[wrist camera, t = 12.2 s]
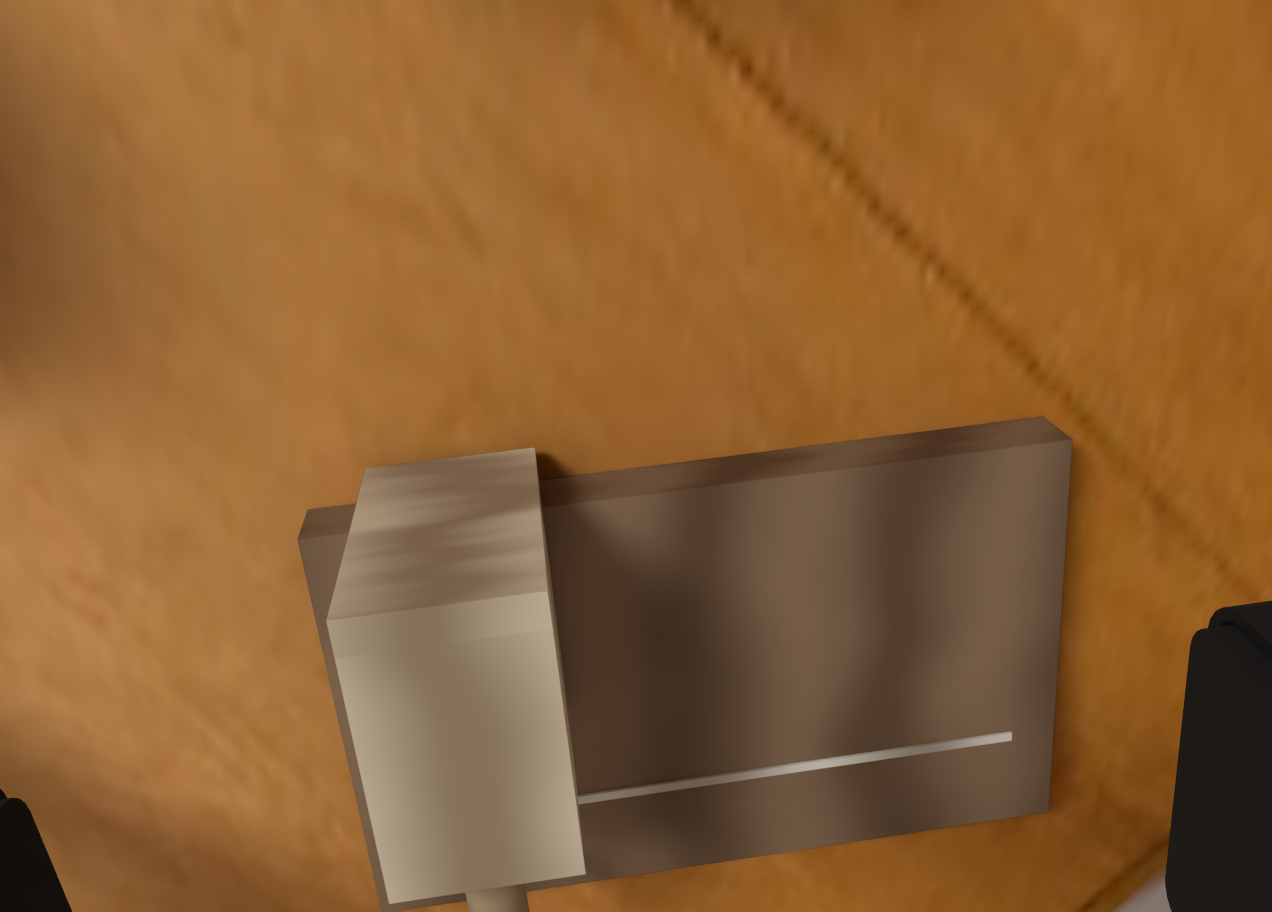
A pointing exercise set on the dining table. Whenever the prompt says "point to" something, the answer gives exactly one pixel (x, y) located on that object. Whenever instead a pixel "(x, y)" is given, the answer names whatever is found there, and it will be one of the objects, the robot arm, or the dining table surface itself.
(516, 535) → the block
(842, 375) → the dining table surface
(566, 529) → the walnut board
